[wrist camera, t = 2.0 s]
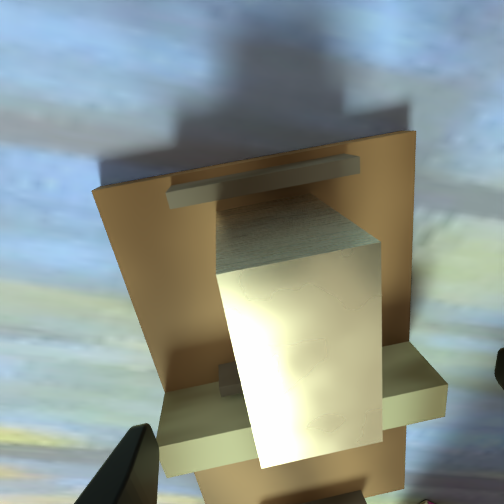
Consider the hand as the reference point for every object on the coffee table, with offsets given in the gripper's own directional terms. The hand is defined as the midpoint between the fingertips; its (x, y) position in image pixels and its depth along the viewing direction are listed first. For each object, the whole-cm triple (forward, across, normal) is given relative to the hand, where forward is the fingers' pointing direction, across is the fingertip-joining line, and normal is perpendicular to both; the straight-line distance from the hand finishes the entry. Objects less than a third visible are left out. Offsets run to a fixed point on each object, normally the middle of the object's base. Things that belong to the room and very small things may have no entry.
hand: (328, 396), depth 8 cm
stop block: (+7, 0, 0) cm, 7 cm away
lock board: (+8, 0, +6) cm, 10 cm away
